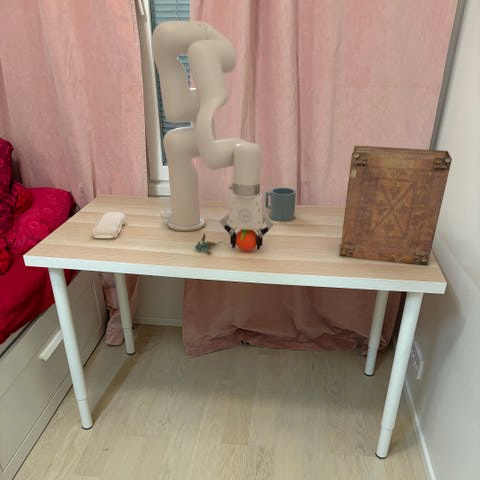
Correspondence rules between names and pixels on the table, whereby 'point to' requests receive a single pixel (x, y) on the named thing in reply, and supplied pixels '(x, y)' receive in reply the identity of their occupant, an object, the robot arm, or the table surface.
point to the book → (393, 203)
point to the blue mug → (281, 203)
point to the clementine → (246, 239)
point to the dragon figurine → (205, 245)
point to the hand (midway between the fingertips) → (246, 246)
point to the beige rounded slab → (109, 225)
